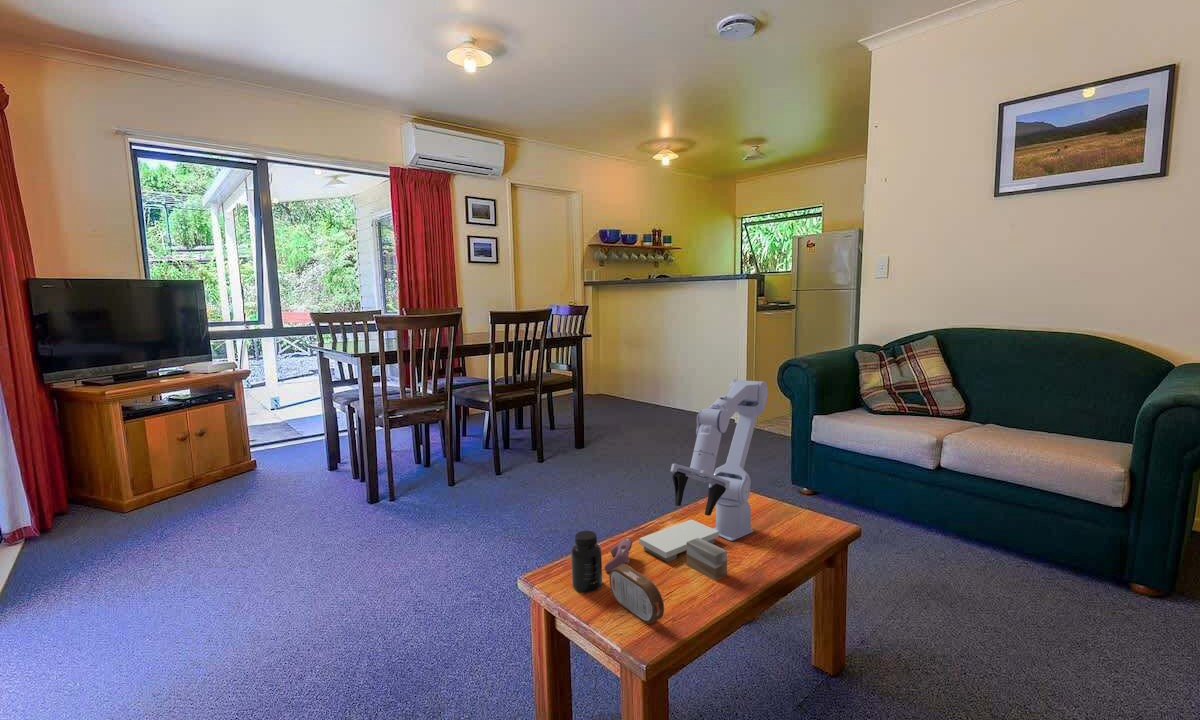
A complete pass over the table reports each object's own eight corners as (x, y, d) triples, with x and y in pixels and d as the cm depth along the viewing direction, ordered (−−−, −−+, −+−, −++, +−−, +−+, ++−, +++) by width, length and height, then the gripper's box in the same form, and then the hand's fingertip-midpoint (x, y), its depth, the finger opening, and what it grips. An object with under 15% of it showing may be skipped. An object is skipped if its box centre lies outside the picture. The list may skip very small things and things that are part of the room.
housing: (698, 560, 128) (698, 537, 128) (727, 575, 121) (727, 550, 120) (686, 565, 126) (686, 542, 125) (715, 581, 119) (715, 556, 118)
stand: (691, 529, 146) (691, 519, 146) (718, 542, 138) (718, 531, 138) (639, 549, 135) (639, 538, 135) (666, 564, 127) (665, 552, 126)
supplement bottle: (567, 582, 119) (565, 532, 118) (593, 574, 123) (591, 525, 121) (580, 597, 113) (579, 544, 112) (608, 588, 117) (606, 536, 115)
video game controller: (619, 580, 123) (632, 556, 121) (602, 571, 123) (614, 546, 122) (625, 560, 132) (637, 537, 131) (609, 551, 133) (621, 529, 132)
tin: (665, 627, 102) (665, 586, 101) (653, 633, 100) (652, 591, 100) (618, 593, 114) (618, 557, 114) (607, 598, 113) (606, 561, 112)
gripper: (682, 444, 124) (669, 501, 119) (739, 462, 125) (727, 519, 121) (673, 447, 130) (660, 501, 126) (726, 465, 132) (715, 519, 127)
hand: (692, 510), depth 124 cm, fingers open, 7 cm apart
